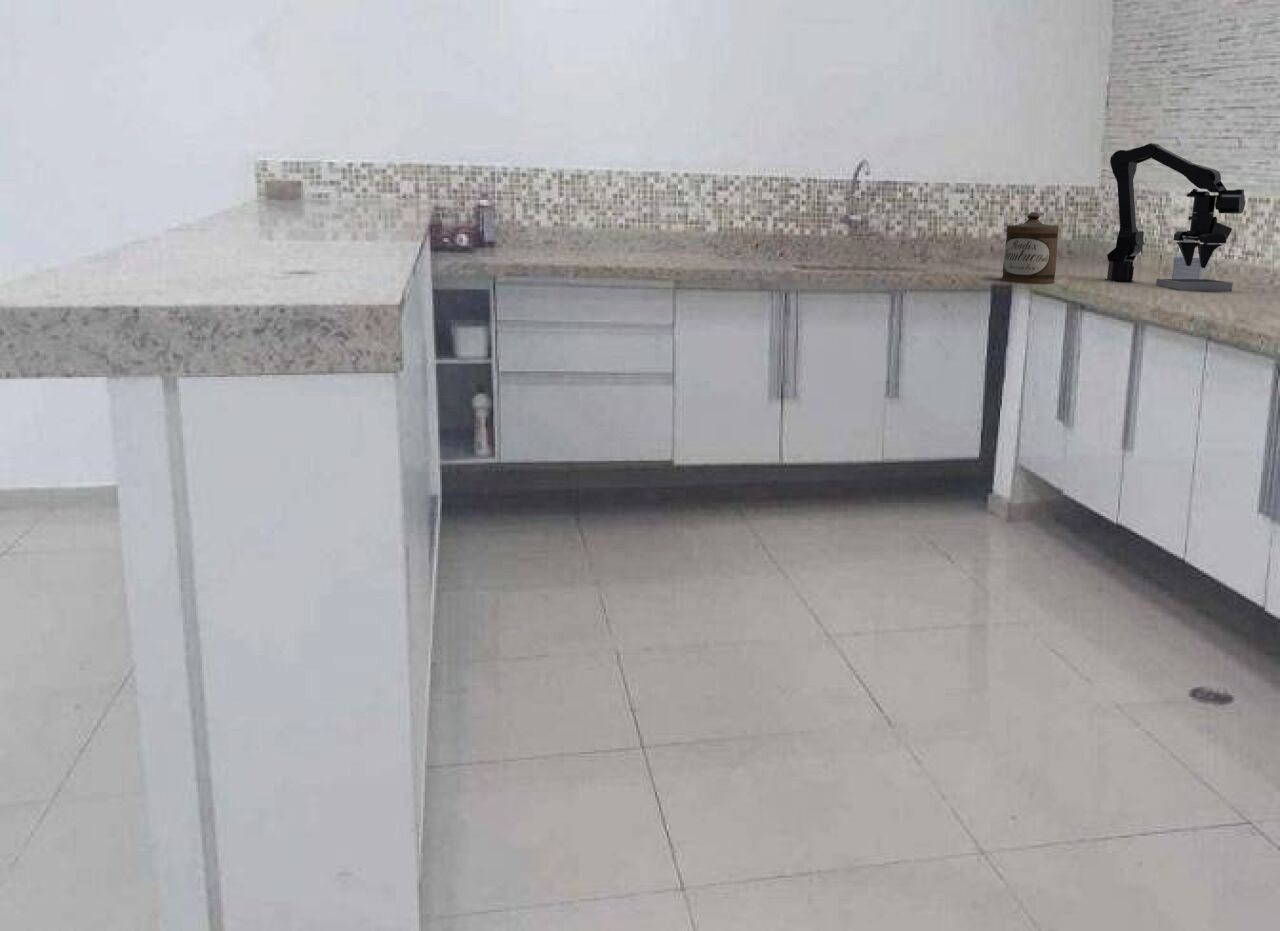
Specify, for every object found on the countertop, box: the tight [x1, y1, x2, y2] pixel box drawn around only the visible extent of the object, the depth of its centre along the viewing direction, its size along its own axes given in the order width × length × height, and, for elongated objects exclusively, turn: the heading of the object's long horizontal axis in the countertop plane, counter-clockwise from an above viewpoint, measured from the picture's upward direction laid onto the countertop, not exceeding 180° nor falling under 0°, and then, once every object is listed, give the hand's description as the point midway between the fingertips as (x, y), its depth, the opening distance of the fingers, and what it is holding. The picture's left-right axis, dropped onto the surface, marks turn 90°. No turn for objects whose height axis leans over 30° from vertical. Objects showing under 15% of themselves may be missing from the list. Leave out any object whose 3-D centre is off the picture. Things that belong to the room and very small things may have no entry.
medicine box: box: [1171, 255, 1204, 279], centre depth 338 cm, size 8×4×9 cm, turn 54°
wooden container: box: [1001, 211, 1060, 285], centre depth 320 cm, size 15×15×22 cm
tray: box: [1155, 278, 1234, 292], centre depth 322 cm, size 16×13×2 cm
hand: (1195, 267), depth 320 cm, fingers open, 8 cm apart
